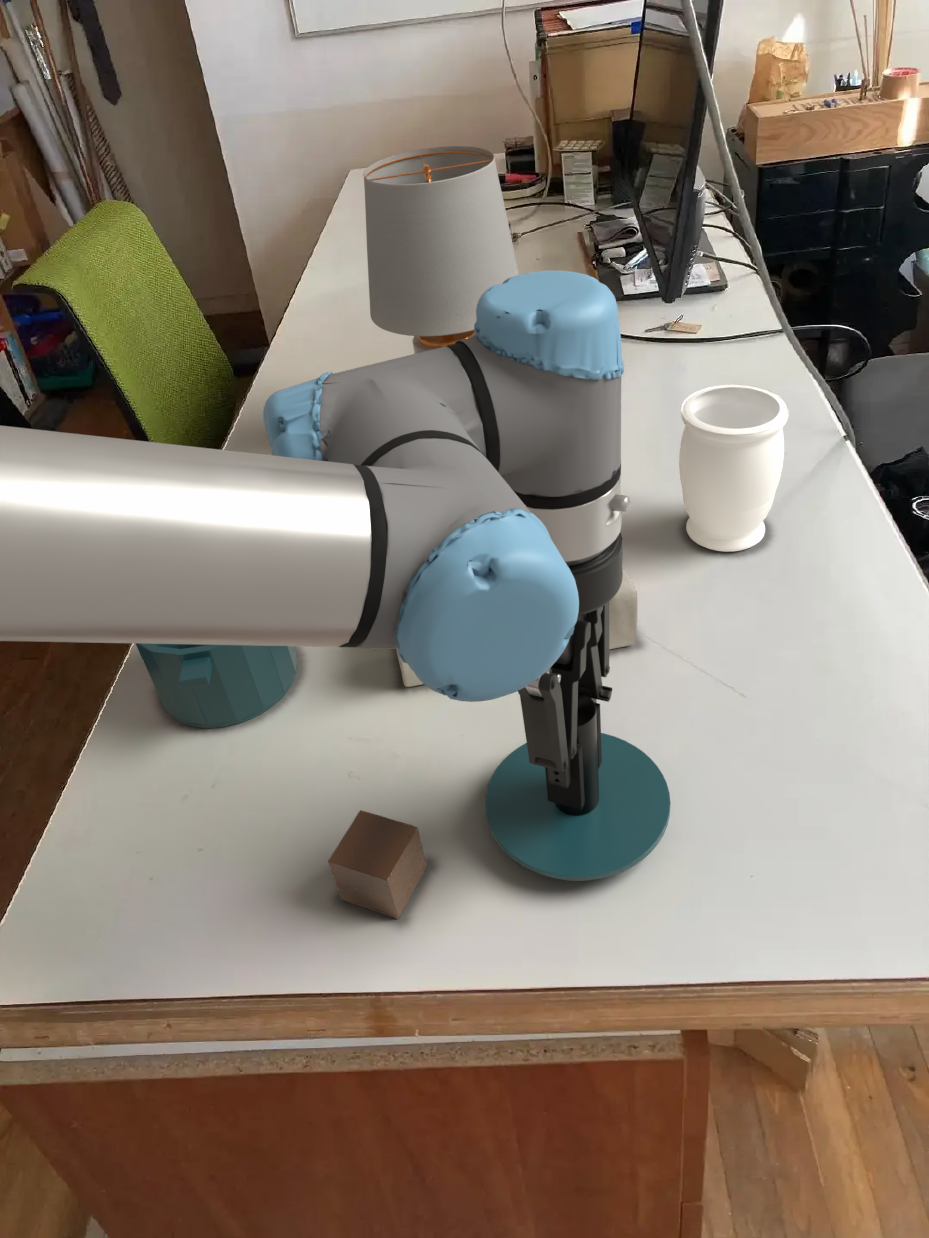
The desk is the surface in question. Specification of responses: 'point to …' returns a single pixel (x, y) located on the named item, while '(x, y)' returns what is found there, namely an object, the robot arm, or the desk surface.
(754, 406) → the jar
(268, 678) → the pot
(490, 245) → the lamp
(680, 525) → the desk surface
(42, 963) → the desk surface
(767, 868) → the desk surface
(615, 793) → the lid
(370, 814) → the block
